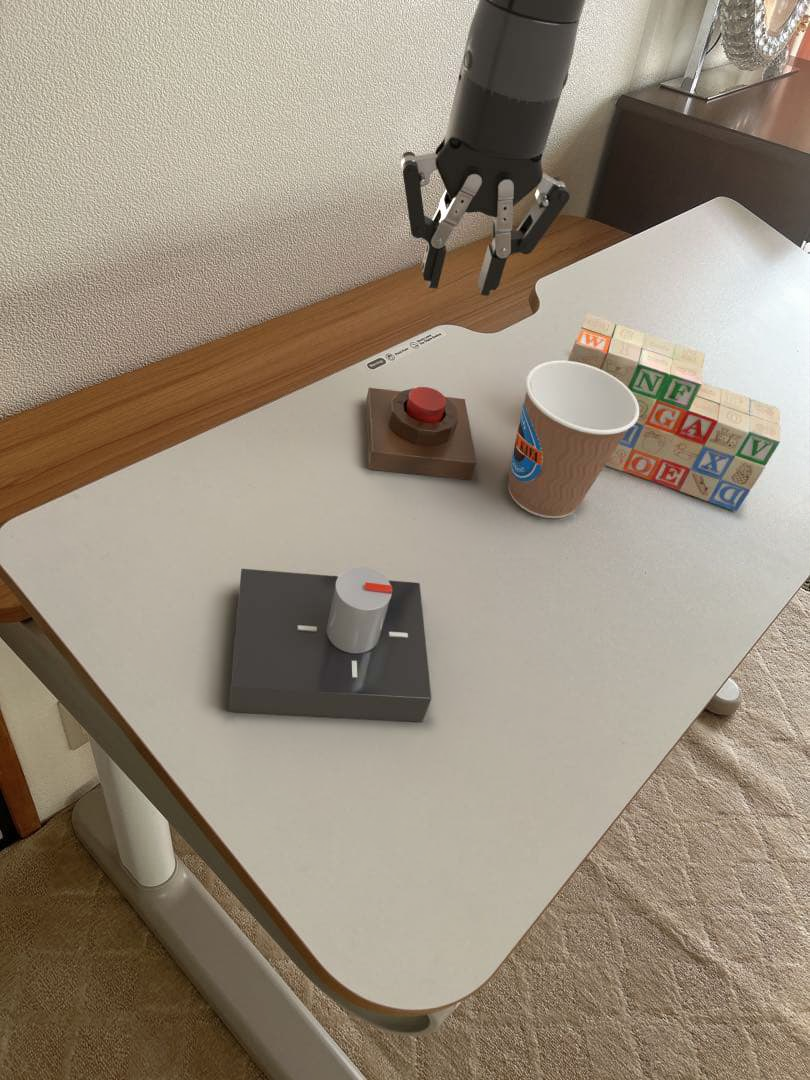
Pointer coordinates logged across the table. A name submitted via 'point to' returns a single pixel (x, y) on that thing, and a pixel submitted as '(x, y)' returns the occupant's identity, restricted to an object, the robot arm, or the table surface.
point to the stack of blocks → (681, 416)
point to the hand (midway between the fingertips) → (457, 286)
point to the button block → (418, 437)
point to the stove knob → (358, 609)
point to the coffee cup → (566, 435)
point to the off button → (426, 405)
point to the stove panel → (324, 653)
